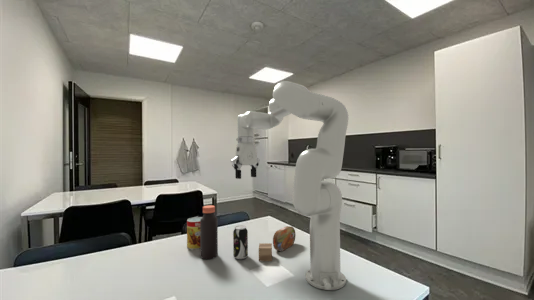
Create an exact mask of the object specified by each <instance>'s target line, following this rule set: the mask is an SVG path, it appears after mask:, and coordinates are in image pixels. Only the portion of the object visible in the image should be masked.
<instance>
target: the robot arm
mask: <svg viewBox="0 0 534 300" xmlns="http://www.w3.org/2000/svg"><path fill="white" fill-rule="evenodd" d="M268 109H269V112H261V111H255V110H253V111H252V110H249V111H246V112H245V113H242V114H241V113H240V114H239V115H238V116H237V138H236V141H237V144H236V149H235V157H233V158H232V159H230V163H231V166H232V167H233V170H235V176H234V177H235V179H237V180H238V179H239V180H241V179H242V170H241V169H242V167H243V166H250V167H251V168H250V177H251V178H257V169H258V166H259V164H260V158H258V154H257V153H258V152H257V148H256V144H255V140H254V139H255V136H254V134H255V133H254V131H255V130H266V131H267V130H271V129H273V128H275V127H277V126H279V125H280V124H281V123H282V121H283V120H284V118H285V117H287V116H289V115H291V114H292V115H294V116H295V117H297V118H300V119H303V120H308V121H309V120H310V121H316V122H322V123H323V124H322V126H321V127H320V129H319V130H318V135H317V140H316V146H315V148H308V149H305V150H304V151H302V152H301V153H300V154H299V156H298V157H297V160H296V164H295V168H294V178H293V186H292V187H293V188H292V205H293V207H294V209H295V211H296V212H297V213H298V214H300V215H301V216H306V217H310V221H309V255H310V256H309V257H310V258H309V260H310V261H309V262H310V263H309V264H310V267H309V268H310V269H308V270H307V271H306V273H305V280H306V282H307V283H308V284H309V285H310V286H312V287H314V288H316V289H319V290H324V291H325V290H326V291H336V290H339V289H342V288H343V287H345V286H346V283H347V277H346V276H345V275H344V273H342V272H341V271H342V270H341V237H340V236H341V211H342V210H341V209H342V207H343V206H342V205H343V193H342V192H341V189H340V187H339V186H337V184H335V183H333V182H331V181H327V179H333V178H336V177H337V176H339V175H340V173H341V171H342V166H343V158H344V154H345V153H344V152H345V145H346V144H345V143H346V135H347V130H348V125H349V111H348V108H346V105H345V104H343V102H341V101H340V100H338V99H336V98H334V97H332V96H328V95H324V94H321V93H320V94H319V93H316V92H312V91H310V90H309V89H308V88H307V86H305V85H303V84H300V83H296V82H293V81H289V80H282V81H280V82H278V83H277V84H276V85H275V86H274V89H273V90H272V98H271V99H270V101H269V103H268ZM322 180H326V181H322Z"/></svg>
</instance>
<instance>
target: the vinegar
mask: <svg viewBox="0 0 534 300" xmlns="http://www.w3.org/2000/svg"><path fill="white" fill-rule="evenodd" d="M202 214H203V215H202V216H201V217H202V218H201V220H200V248H199V249H200V258H201V259H203V260H212V259H215V258H216V257H218V254H219V251H218V250H219V245H218V239H219V238H218V237H219V236H218V231H219V230H218V222H219V221H218V217H217V216H216V215H215V214H216V206H215V205H210V204H209V205H204V206H202Z"/></svg>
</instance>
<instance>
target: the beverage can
mask: <svg viewBox="0 0 534 300" xmlns="http://www.w3.org/2000/svg"><path fill="white" fill-rule="evenodd" d="M248 231H249V230H248V229H247V226H246V225H236V226H235V227H234V229H233V231H232V233H233V234H232V235H233V236H232V237H233V240H232V241H233V242H232V244H233V250H232V251H233V258H235V259H236V260H244V259H246V258H247V257H248V255H249V248H248V247H249V245H248V244H249V243H248V242H249V237H248V236H249V235H248V234H249V233H248Z"/></svg>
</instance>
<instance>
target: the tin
mask: <svg viewBox="0 0 534 300" xmlns="http://www.w3.org/2000/svg"><path fill="white" fill-rule="evenodd" d="M295 241H296V229H295V227H293V226H284V227H281V228H280V229H278V230H276V231H275V232H274V233H273V237H272V247H273V248H274V249H275V251H278V252H279V251H280V252H284V251H285V250H287V249H289V248H290V247H292V246H293V245H294V244H295Z"/></svg>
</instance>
